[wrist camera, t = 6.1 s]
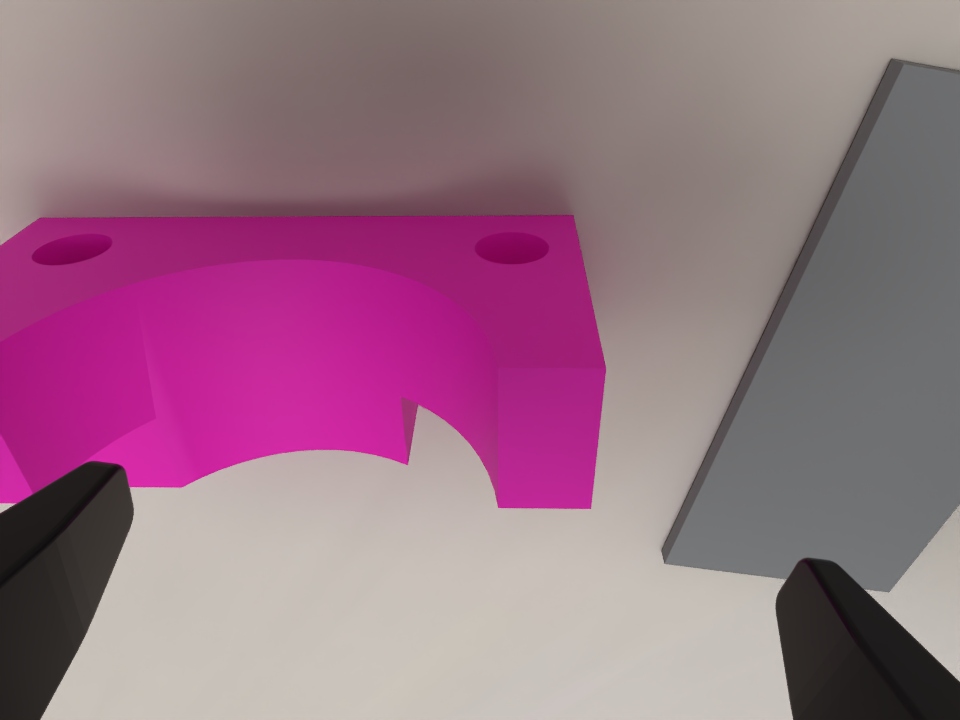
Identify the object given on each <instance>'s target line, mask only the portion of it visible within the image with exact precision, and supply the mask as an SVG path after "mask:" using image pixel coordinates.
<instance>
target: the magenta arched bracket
mask: <svg viewBox="0 0 960 720" xmlns="http://www.w3.org/2000/svg"><path fill="white" fill-rule="evenodd" d="M605 374H606V366H605V361H604V357H603V352H602V347H601V343H600V338H599V333H598V329H597V324H596V319H595V315H594V310H593V305H592V300H591V296H590V291H589V286H588V282H587V277H586V272H585V268H584V263H583V258H582V254H581V249H580V244H579V240H578V235H577V230H576V226H575V221H574V216H573V215H519V216H315V217H110V218H39V219H37V220H36V221H35V222H33V223H32V224H30V225H29V226H28V227H26V228H25V229H23V230H22V231H20V232H19V233H18V234H16V235H15V236H13V237H12V238H11V239H9V240H8V241H6V242H5V243H4V244H2V245H1V246H0V503H18V502H20V501H22V500H23V499H25V498H27V497H28V496H30V495H32V494H33V493H35V492H37V491H38V490H40V489H42V488H43V487H45V486H47V485H48V484H50V483H52V482H53V481H55V480H57V479H58V478H60V477H62V476H63V475H65V474H67V473H68V472H70V471H72V470H73V469H75V468H77V467H78V466H80V465H82V464H84V463H86V462H89V461H100V462H107V463H115V464H119V465H122V466H123V467H124V469H125V470H126V473H127V478H128V483H129V487H184V486H186V485H188V484H190V483H192V482H194V481H196V480H198V479H200V478H202V477H204V476H207V475H209V474H211V473H214V472H216V471H218V470H221V469H224V468H227V467H230V466H232V465H235V464H238V463H241V462H245V461H249V460H252V459H256V458H260V457H265V456H269V455H274V454H279V453H287V452H294V451H305V450H344V451H355V452H361V453H368V454H373V455H377V456H381V457H385V458H389V459H392V460H395V461H398V462H400V463H403V464H406V465H408V461H409V455H410V449H411V443H412V437H413V431H414V425H415V419H416V413H417V407H418V405H420V406H422V407H424V408H426V409H428V410H430V411H432V412H433V413H435V414H436V415H438V416H439V417H441V418H442V419H444V420H445V421H446V422H448V423H449V424H450V425H451V426H452V427H454V428H455V429H456V430H457V431H458V432H459V433H460V434H461V435H462V436H463V437H464V438H465V439H466V440H467V441H468V442H469V443H470V445H471V446H472V447H473V449H474V450H475V451H476V453H477V454H478V456H479V457H480V459H481V460H482V462H483V464H484V466H485V468H486V470H487V472H488V474H489V477H490V479H491V482H492V485H493V487H494V490H495V495H496V500H497V504H498V508H556V509H591V503H592V494H593V485H594V476H595V466H596V457H597V448H598V439H599V429H600V420H601V411H602V401H603V392H604V383H605Z"/></svg>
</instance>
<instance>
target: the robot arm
mask: <svg viewBox="0 0 960 720" xmlns="http://www.w3.org/2000/svg"><path fill="white" fill-rule="evenodd" d="M133 515H134V508H133V502H132V497H131V492H130V488H129V483H128V478H127V473H126V470H125V469H124V467H123V466H122V465H119V464H115V463H107V462H100V461H89V462H86V463H84V464H82V465H80V466H78V467H77V468H75V469H73V470H72V471H70V472H68V473H67V474H65V475H63V476H62V477H60V478H58V479H57V480H55V481H53V482H52V483H50V484H48V485H47V486H45V487H43V488H42V489H40V490H38V491H37V492H35V493H33V494H32V495H30V496H28V497H27V498H25V499H23V500H22V501H20V502H18V503H17V504H15V505H13V506H12V507H10V508H8V509H7V510H5V511H3V512H2V513H0V720H40V719H41V717H42V716H43V714H44V712H45V710H46V708H47V706H48V705H49V703H50V701H51V699H52V697H53V695H54V693H55V692H56V690H57V688H58V686H59V684H60V682H61V681H62V679H63V677H64V675H65V673H66V671H67V670H68V668H69V666H70V664H71V662H72V660H73V658H74V657H75V655H76V653H77V651H78V649H79V647H80V645H81V643H82V641H83V639H84V637H85V635H86V633H87V631H88V629H89V626H90V624H91V622H92V619H93V617H94V615H95V612H96V610H97V608H98V605H99V603H100V600H101V598H102V595H103V593H104V590H105V588H106V586H107V583H108V581H109V578H110V576H111V573H112V571H113V569H114V566H115V564H116V561H117V559H118V556H119V554H120V551H121V549H122V547H123V544H124V542H125V539H126V537H127V534H128V532H129V530H130V527H131V524H132V520H133ZM776 616H777V622H778V629H779V635H780V641H781V648H782V654H783V661H784V667H785V673H786V680H787V686H788V692H789V699H790V705H791V710H792V716H793V720H960V682H959V681H958V680H957V679H956V678H955V677H954V676H953V675H952V674H951V673H950V672H949V671H948V670H947V669H946V668H945V667H944V666H943V665H942V664H941V663H940V662H939V661H938V660H937V659H936V658H935V657H933V656H932V655H931V654H930V653H929V652H928V651H927V650H926V649H925V648H924V647H923V646H922V645H921V644H920V643H919V642H918V641H917V640H916V639H915V638H914V637H913V636H912V635H911V634H910V633H909V632H908V631H907V630H906V629H905V628H904V627H903V626H901V625H900V624H899V623H898V622H897V621H896V620H895V619H894V618H893V617H892V616H891V615H890V614H889V613H888V612H887V611H886V610H885V609H884V608H883V607H882V606H881V605H880V604H879V603H878V602H877V601H876V600H875V599H874V598H873V597H872V596H870V595H869V594H868V593H867V592H866V591H865V590H864V589H863V588H862V587H861V586H860V585H859V584H858V583H857V582H856V581H855V580H854V579H853V578H852V577H851V576H850V575H849V574H848V573H847V572H846V571H845V570H844V569H843V568H842V567H840V566H839V565H838V564H837V563H835V562H833V561H830V560H824V559H817V558H810V557H805V558H803V559H801V560H799V561H798V562H797V564H796V565H795V567H794V569H793V570H792V572H791V573H790V575H789V576H788V578H787V580H786V581H785V583H784V584H783V586H782V588H781V589H780V591H779V593H778V595H777V599H776Z"/></svg>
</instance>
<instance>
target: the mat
mask: <svg viewBox="0 0 960 720" xmlns="http://www.w3.org/2000/svg"><path fill="white" fill-rule="evenodd" d="M959 504H960V71H957V70H951V69H946V68H940V67H935V66H929V65H923V64H918V63H912V62H907V61H901V60H896V59H892V60H891V62H890V64H889V66H888V68H887V70H886V72H885V75H884V77H883V79H882V81H881V83H880V85H879V87H878V90H877V92H876V94H875V96H874V98H873V100H872V102H871V104H870V107H869V109H868V111H867V113H866V115H865V117H864V119H863V122H862V124H861V126H860V128H859V130H858V132H857V134H856V137H855V139H854V141H853V143H852V145H851V147H850V149H849V152H848V154H847V156H846V158H845V160H844V162H843V164H842V167H841V169H840V171H839V173H838V175H837V177H836V179H835V181H834V184H833V186H832V188H831V190H830V192H829V194H828V196H827V199H826V201H825V203H824V205H823V207H822V209H821V211H820V214H819V216H818V218H817V220H816V222H815V224H814V226H813V229H812V231H811V233H810V235H809V237H808V239H807V241H806V243H805V246H804V248H803V250H802V252H801V254H800V256H799V258H798V261H797V263H796V265H795V267H794V269H793V271H792V273H791V276H790V278H789V280H788V282H787V284H786V286H785V288H784V291H783V293H782V295H781V297H780V299H779V301H778V303H777V305H776V308H775V310H774V312H773V314H772V316H771V318H770V320H769V323H768V325H767V327H766V329H765V331H764V333H763V335H762V338H761V340H760V342H759V344H758V346H757V348H756V350H755V353H754V355H753V357H752V359H751V361H750V363H749V365H748V367H747V370H746V372H745V374H744V376H743V378H742V380H741V382H740V385H739V387H738V389H737V391H736V393H735V395H734V397H733V400H732V402H731V404H730V406H729V408H728V410H727V412H726V415H725V417H724V419H723V421H722V423H721V425H720V427H719V429H718V432H717V434H716V436H715V438H714V440H713V442H712V444H711V447H710V449H709V451H708V453H707V455H706V457H705V459H704V462H703V464H702V466H701V468H700V470H699V472H698V474H697V477H696V479H695V481H694V483H693V485H692V487H691V489H690V491H689V494H688V496H687V498H686V500H685V502H684V504H683V506H682V509H681V511H680V513H679V515H678V517H677V519H676V521H675V524H674V526H673V528H672V530H671V532H670V534H669V536H668V539H667V541H666V543H665V545H664V547H663V549H662V555H663V559H664V564H670V565H678V566H685V567H693V568H701V569H709V570H717V571H725V572H733V573H741V574H748V575H756V576H764V577H772V578H780V579H787V578H788V576H789V575H790V573H791V572H792V570H793V569H794V567H795V565H796V564H797V562H798V561H799V560H801V559H803V558H805V557H810V558H817V559H824V560H830V561H833V562H835V563H837V564H838V565H839V566H840V567H842V568H843V569H844V570H845V571H846V572H847V573H848V574H849V575H850V576H851V577H852V578H853V579H854V580H855V581H856V582H857V583H858V584H859V585H860V586H861V587H862V588H863V589H867V590H874V591H882V592H890V591H891V589H892V588H893V587H894V586H895V584H896V583H897V582H898V581H899V579H900V578H901V577H902V576H903V574H904V573H905V572H906V571H907V569H908V568H909V567H910V566H911V564H912V563H913V562H914V561H915V559H916V558H917V557H918V556H919V554H920V553H921V552H922V551H923V549H924V548H925V547H926V546H927V544H928V543H929V542H930V541H931V539H932V538H933V537H934V536H935V534H936V533H937V532H938V531H939V529H940V528H941V527H942V526H943V524H944V523H945V522H946V521H947V519H948V518H949V517H950V516H951V514H952V513H953V512H954V511H955V509H956V508H957V507H958V506H959Z"/></svg>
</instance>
